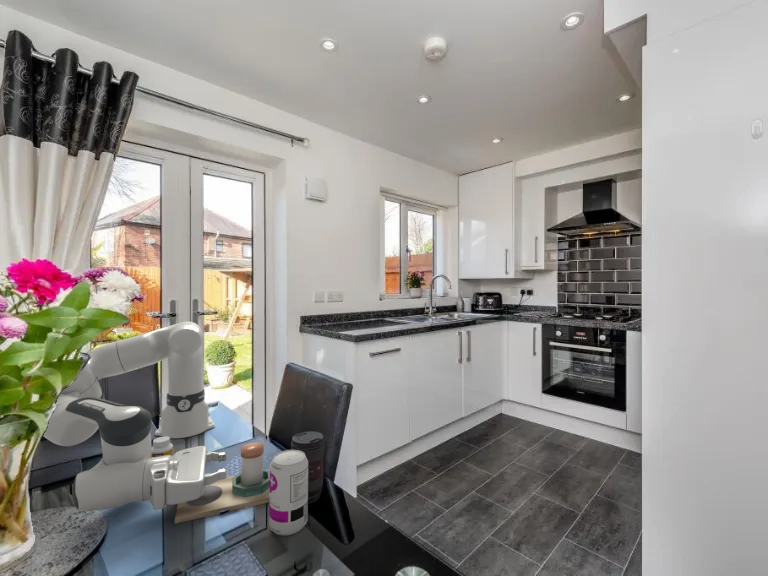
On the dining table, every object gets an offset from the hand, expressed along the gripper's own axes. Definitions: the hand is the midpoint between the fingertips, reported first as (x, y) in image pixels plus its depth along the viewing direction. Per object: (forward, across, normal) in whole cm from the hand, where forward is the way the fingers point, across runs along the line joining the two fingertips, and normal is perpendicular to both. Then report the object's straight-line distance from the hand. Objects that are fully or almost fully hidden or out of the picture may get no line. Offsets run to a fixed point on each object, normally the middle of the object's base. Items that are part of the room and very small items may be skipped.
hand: (226, 464), depth 89 cm
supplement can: (+12, +17, -8) cm, 22 cm away
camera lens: (+19, +8, -8) cm, 22 cm away
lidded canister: (+6, 0, -7) cm, 9 cm away
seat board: (+1, 0, -8) cm, 8 cm away
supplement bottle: (-16, -18, -8) cm, 25 cm away
